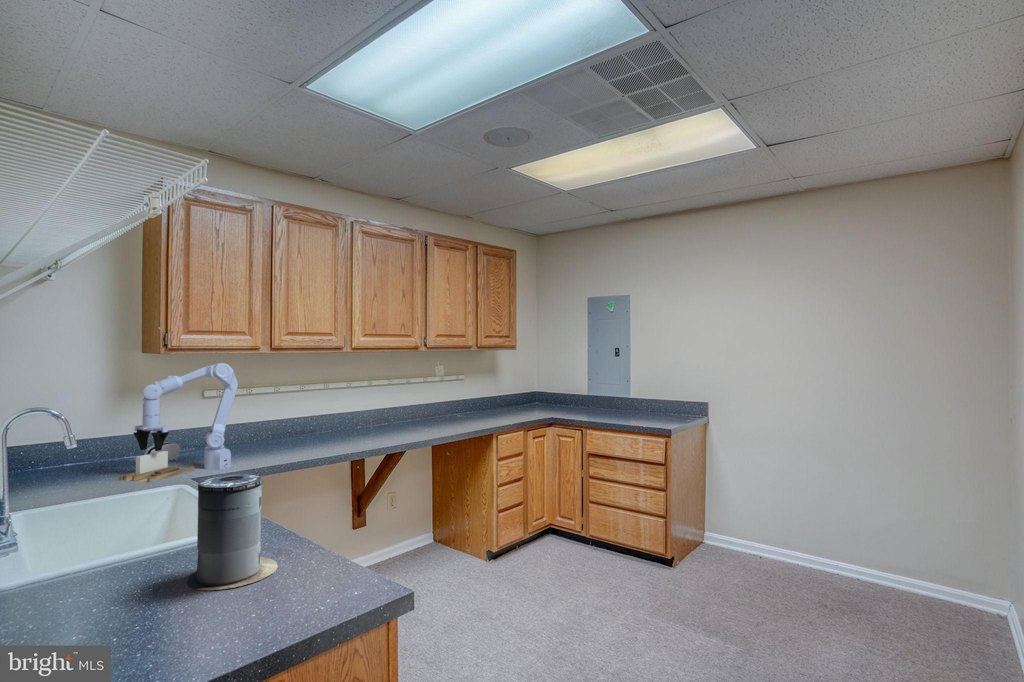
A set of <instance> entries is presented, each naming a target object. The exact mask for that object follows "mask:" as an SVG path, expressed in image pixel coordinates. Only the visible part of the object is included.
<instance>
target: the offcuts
mask: <svg viewBox="0 0 1024 682" xmlns="http://www.w3.org/2000/svg"><path fill="white" fill-rule="evenodd" d="M177 470H180V467H178V468H175V467H173V468H168V469H164V470H160V471H156V472H154V474H151V477H153V476H157V475H161V474H165V473H169V472H173V471H177Z"/></svg>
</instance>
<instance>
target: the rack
mask: <svg viewBox="0 0 1024 682" xmlns="http://www.w3.org/2000/svg"><path fill="white" fill-rule="evenodd" d="M173 467H175V468H179V465H178V464H175V465H171V464H168V467H166V468H162V469H158V470H153V471H149V472H145V473H141V474H137V475H136V471H134V472H130V473H126V474H122V475H119V476H118V480H119V481H126V482H139V483H141V482H142V483H153V482H155V481H160V480H163V479H166V478H167V479H168V478H171V477H175V476H179V475H183V474H186V473H189V472H194V471H195V466H193V465H192V466H189V467H185V468H181V469H180V470H177V471H173V472H169V473H165V474H161V475H157V476H153V477H151V474H154V472H156V471H160V470H164V469H168V468H173Z"/></svg>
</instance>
